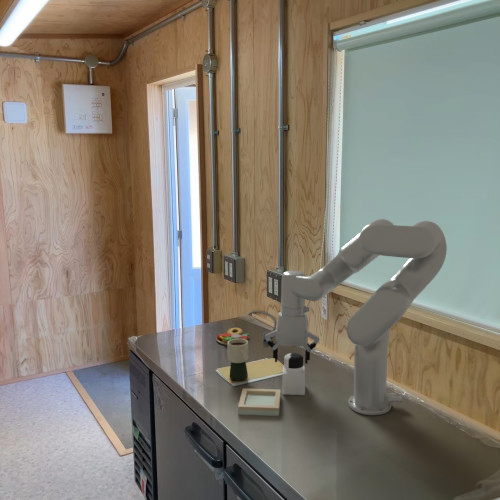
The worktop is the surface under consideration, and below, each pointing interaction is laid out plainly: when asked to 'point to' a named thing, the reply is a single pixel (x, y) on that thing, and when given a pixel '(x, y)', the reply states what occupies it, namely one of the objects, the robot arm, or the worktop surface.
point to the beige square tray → (259, 402)
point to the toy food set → (231, 335)
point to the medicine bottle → (293, 375)
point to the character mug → (238, 358)
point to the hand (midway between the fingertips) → (291, 361)
